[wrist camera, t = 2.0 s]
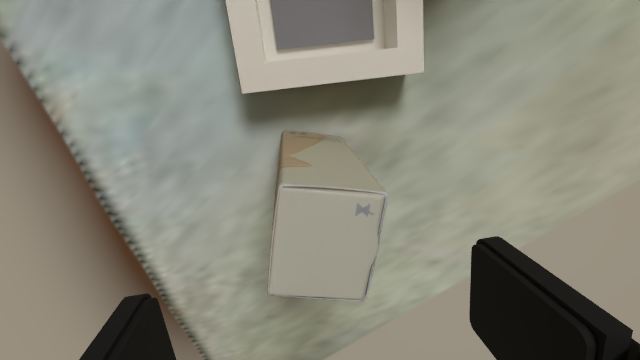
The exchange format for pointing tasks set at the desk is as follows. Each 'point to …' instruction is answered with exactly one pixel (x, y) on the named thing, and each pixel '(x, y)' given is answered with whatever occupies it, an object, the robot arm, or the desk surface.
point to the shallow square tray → (324, 41)
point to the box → (324, 220)
